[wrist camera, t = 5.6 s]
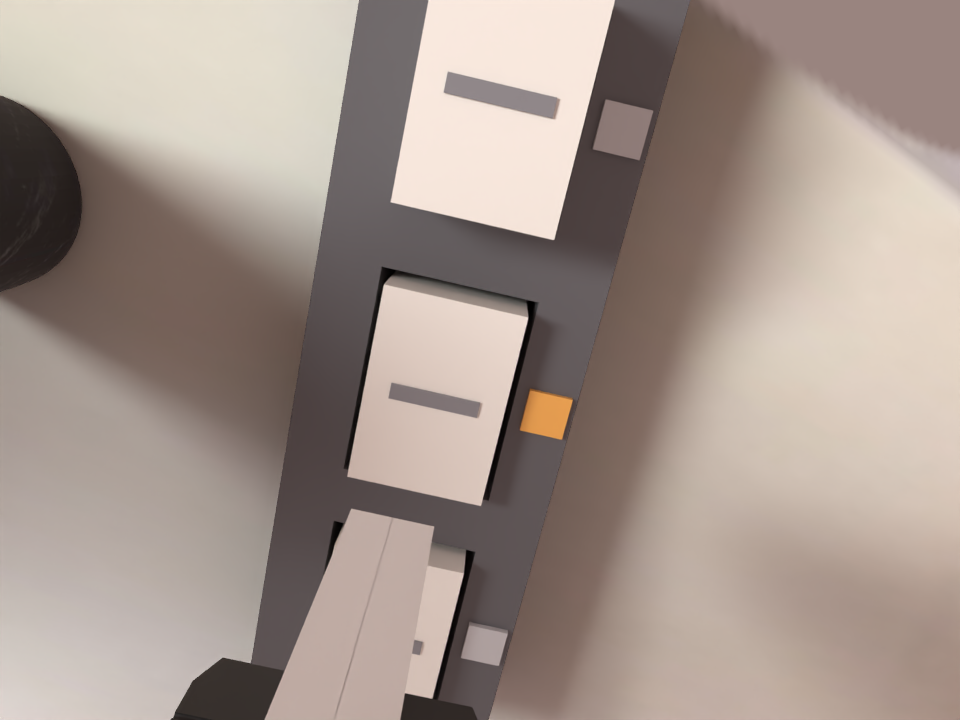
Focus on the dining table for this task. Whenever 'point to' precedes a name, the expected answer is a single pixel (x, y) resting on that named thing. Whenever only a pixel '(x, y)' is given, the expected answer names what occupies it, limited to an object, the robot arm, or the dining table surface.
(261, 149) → the dining table surface
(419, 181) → the button
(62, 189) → the travel mug
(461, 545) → the power strip
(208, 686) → the robot arm
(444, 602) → the button
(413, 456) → the button
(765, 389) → the dining table surface
